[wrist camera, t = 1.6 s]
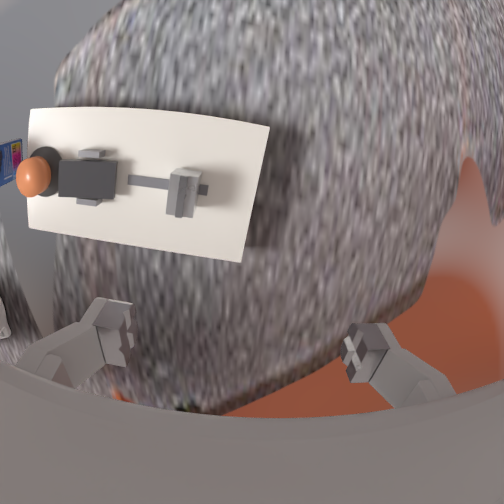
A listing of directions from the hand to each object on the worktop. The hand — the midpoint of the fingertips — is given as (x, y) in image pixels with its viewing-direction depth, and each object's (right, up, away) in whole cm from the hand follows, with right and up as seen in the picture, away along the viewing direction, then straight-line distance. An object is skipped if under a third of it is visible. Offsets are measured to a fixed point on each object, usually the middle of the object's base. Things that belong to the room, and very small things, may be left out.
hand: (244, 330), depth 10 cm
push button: (-22, +11, +12) cm, 27 cm away
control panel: (-12, +12, +19) cm, 25 cm away
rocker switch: (-15, +10, +13) cm, 23 cm away
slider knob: (-6, +9, +16) cm, 19 cm away
